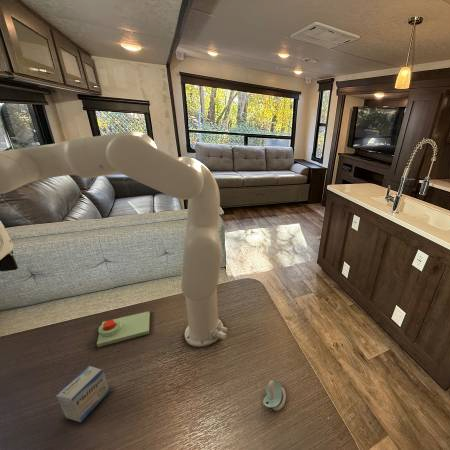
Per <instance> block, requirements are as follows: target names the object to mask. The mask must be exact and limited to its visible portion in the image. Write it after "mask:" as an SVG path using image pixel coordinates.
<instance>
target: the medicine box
mask: <svg viewBox="0 0 450 450" xmlns="http://www.w3.org/2000/svg"><path fill="white" fill-rule="evenodd" d="M109 392H110V388H109V385H108V381H107V379H106V375H105V372H104V370H103V369H101V368H97V367H94V366H91V365H88V366H87V367H86V368H85V369H84V370H83V371H81V372H80V373H79V374H78V375H77V376H76V377H75V378H73V380H71V381H70V382H69V383H68V384H67V385H66V386H65V387H63V389H62V390H61V391H59V392H58V393H57V394H55V398H56V399H57V402H58V403H59V407H60V408H61V410H62V412H63V414H64V417H65V418H66V419H68V420H72V421H74V422H78V423H82V422H83V421H84V420H85V419H86V418H87V417H88V415H89V414H90V413H91V412H92V411H93V410H94V409H95V408H96V407H97V406H98V404H99V403H100V402H101V401H102V400H104V398H105V397H106V396H107V395H108V394H109Z"/></svg>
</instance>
